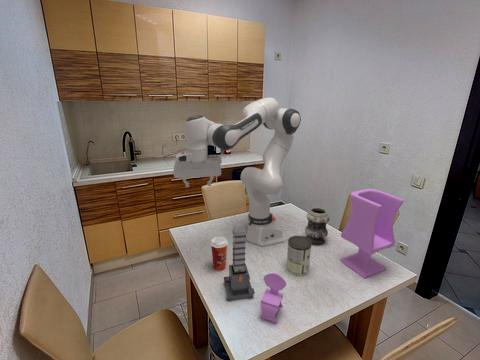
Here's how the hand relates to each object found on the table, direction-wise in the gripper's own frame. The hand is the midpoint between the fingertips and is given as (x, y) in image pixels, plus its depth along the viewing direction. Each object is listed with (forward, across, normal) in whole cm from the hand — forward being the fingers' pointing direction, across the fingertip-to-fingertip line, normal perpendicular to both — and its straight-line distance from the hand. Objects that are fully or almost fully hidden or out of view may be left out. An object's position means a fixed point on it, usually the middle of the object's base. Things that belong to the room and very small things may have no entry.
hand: (198, 186), depth 112 cm
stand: (+37, -14, +24) cm, 46 cm away
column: (+27, -14, +24) cm, 39 cm away
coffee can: (+37, -43, +15) cm, 59 cm away
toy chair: (+37, -24, +37) cm, 58 cm away
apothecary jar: (+37, -62, -6) cm, 73 cm away
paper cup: (+37, -8, +8) cm, 39 cm away
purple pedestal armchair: (+37, -74, +18) cm, 85 cm away
